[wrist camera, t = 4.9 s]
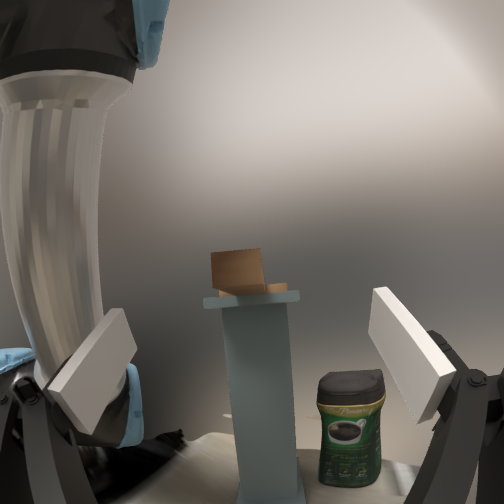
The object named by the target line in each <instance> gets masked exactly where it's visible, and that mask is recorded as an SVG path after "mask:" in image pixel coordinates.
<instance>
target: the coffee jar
mask: <svg viewBox="0 0 504 504" xmlns="http://www.w3.org/2000/svg"><path fill="white" fill-rule="evenodd" d="M385 394H386V391H385V385H384V378H383V373H382V371H381V370H380V369H375V370H362V371H344V372H329V373H328V374H326V375H325V376H324V377H322V378H321V379H320V381H319V385H318V393H317V407H318V410H319V412H320V415H321V420H322V441H321V452H320V459H319V468H318V478H319V480H320V481H321V482H322V483H324V484H327V485H332V486H339V487H363V486H367V485H368V484H370V483H372V482H373V481H375V480H376V478H377V477H378V475H379V473H380V469H381V440H380V412H381V408H382V406H383V404H384V401H385V396H386V395H385Z"/></svg>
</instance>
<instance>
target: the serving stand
mask: <svg viewBox="0 0 504 504" xmlns="http://www.w3.org/2000/svg"><path fill="white" fill-rule="evenodd" d="M203 301H204V308H222V320H223V332H224V343H225V355H226V364H227V374H228V385H229V394H230V403H231V412H232V420H233V428H234V437H235V445H236V452H237V460H238V467H239V474H240V483H239V488H238V493H237V498H236V503H235V504H306V499H305V493H304V488H303V482H302V477H301V472H300V466H299V461H298V457H296V436H295V416H294V398H293V382H292V367H291V353H290V340H289V328H288V316H287V305H286V303H291V302H296V301H300V299H299V290H296V291H285V292H274V293H263V294H252V295H240V296H226V297H212V298H203Z"/></svg>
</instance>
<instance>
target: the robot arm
mask: <svg viewBox="0 0 504 504" xmlns="http://www.w3.org/2000/svg"><path fill="white" fill-rule="evenodd" d="M169 2H170V0H0V107H1V108H2V111H3V114H4V117H3V124H2V133H1V145H0V207H1V219H2V228H3V237H4V243H5V250H6V256H7V262H8V267H9V271H10V276H11V281H12V285H13V289H14V293H15V297H16V300H17V304H18V307H19V311H20V314H21V317H22V320H23V323H24V326H25V329H26V332H27V335H28V338H29V340H30V343H31V346H32V348H33V350H32V349H30V348H9V349H0V504H98V503H97V501H96V498H95V496H94V494H93V491H92V489H91V486H90V484H89V481H88V479H87V476H86V473H85V470H84V467H83V464H82V461H81V458H80V455H79V452H78V448H77V446H95V447H114V448H120V447H123V446H134V445H137V444H139V443H140V442H141V441H142V439H143V432H144V429H143V428H144V427H143V415H142V400H141V390H140V383H139V377H138V372H137V369H136V367H135V366H134V365H133V364H129V363H130V361H131V359H132V357H133V355H134V354H135V352H136V350H137V346H136V344H135V341H134V339H133V336H132V334H131V331H130V328H129V325H128V323H127V320H126V317H125V314H124V311H123V309H122V308H112V309H111V310H110V311H109V312H108V313H107V314H106V315H105V317H104V315H103V308H102V300H101V289H100V277H99V262H98V232H97V219H98V218H97V216H98V215H97V214H98V187H99V171H100V160H101V151H102V142H103V135H104V128H105V121H106V115H107V112H108V110H109V108H110V107H111V105H112V104H114V103H115V102H116V101H117V100H118V99H120V98H121V97H122V96H124V95H125V94H126V93H127V92H129V91H130V90H131V88H132V84H133V80H134V75H135V71H136V69H137V68H139V70H144V69H146V68H150V67H153V66H155V64H156V63H157V60H158V55H159V51H160V45H161V40H162V34H163V29H164V21H165V17H166V14H167V10H168V6H169ZM368 333H369V335H370V337H371V338H372V340H373V342H374V344H375V346H376V348H377V349H378V351H379V353H380V355H381V357H382V358H383V360H384V362H385V364H386V366H387V368H388V369H389V371H390V373H391V375H392V377H393V379H394V381H395V382H396V385H397V386H398V388H399V390H400V392H401V394H402V396H403V398H404V400H405V402H406V404H407V406H408V408H409V410H410V412H411V414H412V416H413V418H414V420H415V423H416V424H419V423H421V422H424V421H427V420H430V419H432V418H433V416H434V414H435V412H436V411H437V410H438V412H439V413H440V415H441V416H440V418H439V419H438V421H437V423H436V424H435V426H434V427H433V429H432V431H434V430H435V431H434V434H433V437H432V440H431V443H430V446H429V449H428V451H427V454H426V456H425V459H424V461H423V464H422V466H421V468H420V471H419V473H418V475H417V477H416V480H415V482H414V484H413V486H412V488H411V490H410V492H409V494H408V496H407V498H406V500H405V502H404V504H465V502H466V499H467V497H468V494H469V491H470V488H471V485H472V481H473V478H474V475H475V471H476V467H477V463H478V459H479V463H478V485H477V496H476V504H504V368H503V370H502V372H501V374H500V375H494V376H487V375H486V374H485V373H484V372H482V371H480V370H478V369H469V368H468V367H467V366H466V364H465V363H464V362H463V361H462V360H461V358H460V357H459V356H458V355H457V354H456V352H455V351H454V350H452V347H451V346H450V345H449V344H447V341H446V340H445V339H444V338H443V337H442V336H441V335H440V334H438V333H436V332H435V331H433V330H431V331H427V332H426V331H425V330H424V329H423V328H422V326H421V325H420V324H419V323H418V322H417V321H416V319H415V318H414V317H413V316H412V315H411V314H410V312H409V311H408V310H407V309H406V308H405V307H404V306H403V304H402V303H401V302H400V301H399V300H398V299H397V298H396V297H395V296H394V294H393V293H392V292H391V291H390V290H389V289H388V288H387V287H381V288H374V289H373V299H372V307H371V316H370V323H369V331H368ZM33 351H34V352H33ZM34 353H35V355H34ZM35 356H36V358H37V360H35Z"/></svg>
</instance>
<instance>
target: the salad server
mask: <svg viewBox="0 0 504 504" xmlns="http://www.w3.org/2000/svg"><path fill="white" fill-rule="evenodd" d="M211 267H212V282H213V283H212V284H213V288H215V289H217V290H219V295H220V297H226V296H240V295H252V294H263V293H274V292H285V291H287V283H280V284H269V285H265V277H264V271H263V264H262V258H261V252H260V248H256V249H245V250H235V251H225V252H214V253H211Z"/></svg>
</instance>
